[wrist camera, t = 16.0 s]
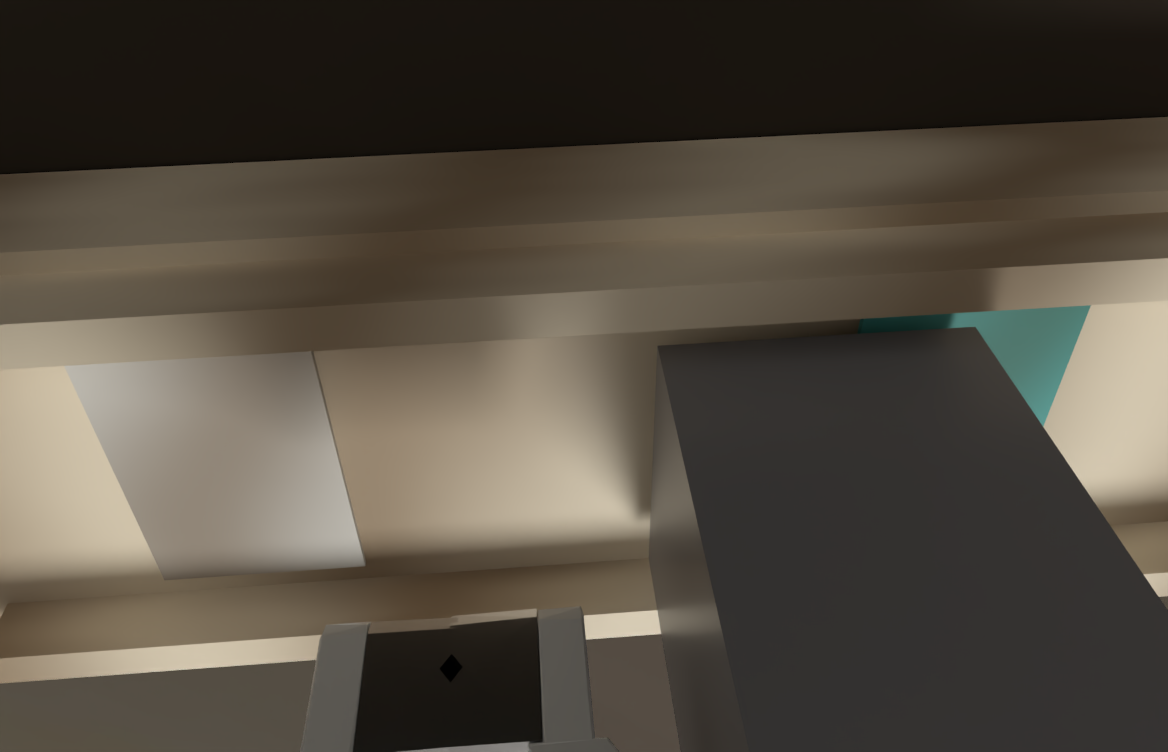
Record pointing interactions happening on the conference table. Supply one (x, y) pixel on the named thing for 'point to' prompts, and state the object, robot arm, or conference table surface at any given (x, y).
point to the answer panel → (505, 363)
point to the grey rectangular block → (887, 558)
